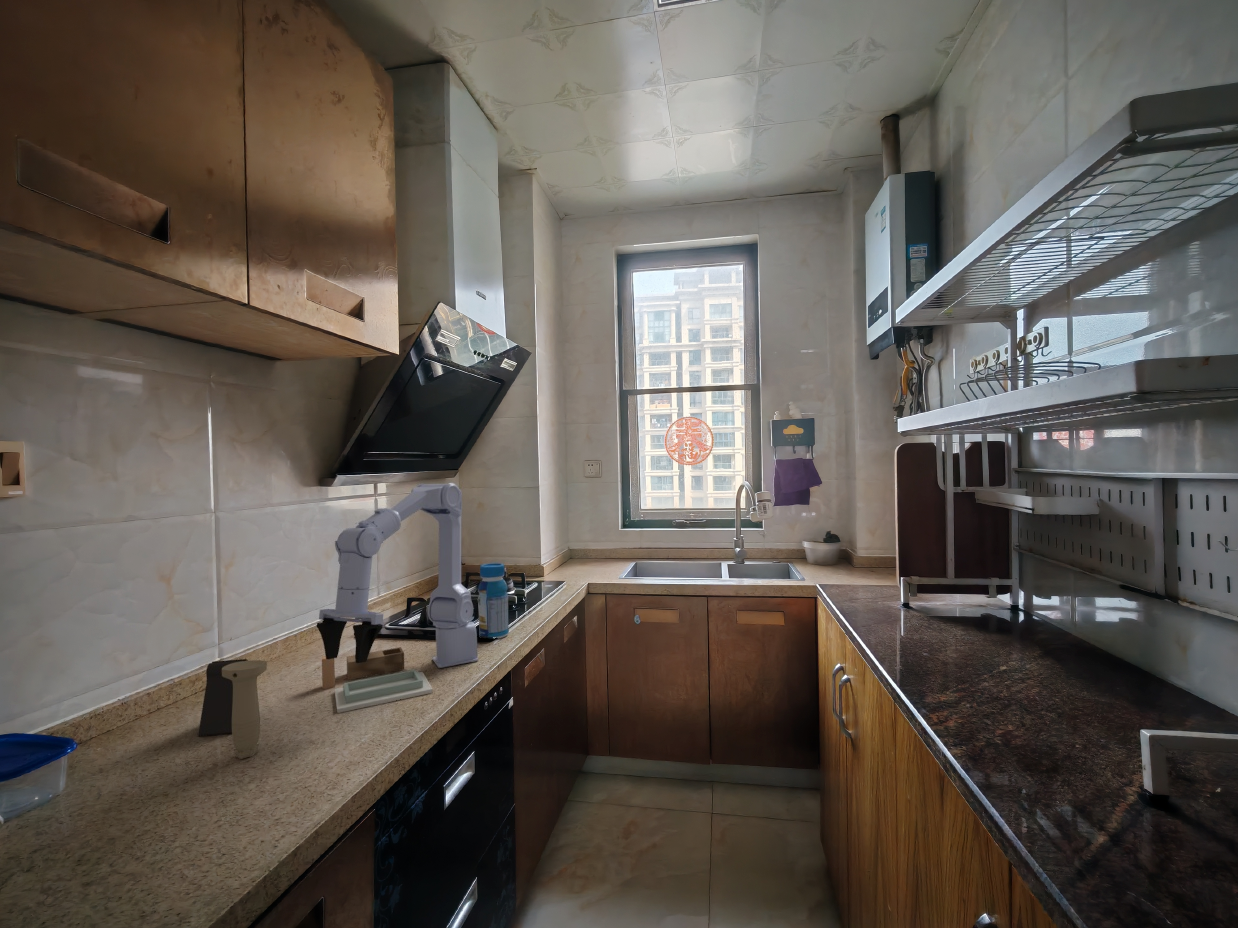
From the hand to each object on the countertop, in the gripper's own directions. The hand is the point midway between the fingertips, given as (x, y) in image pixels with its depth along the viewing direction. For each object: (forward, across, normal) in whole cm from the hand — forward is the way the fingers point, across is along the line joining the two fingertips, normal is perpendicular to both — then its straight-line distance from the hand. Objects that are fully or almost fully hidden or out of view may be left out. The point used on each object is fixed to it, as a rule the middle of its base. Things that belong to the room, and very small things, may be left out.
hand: (346, 660), depth 109 cm
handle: (+13, -4, -15) cm, 21 cm away
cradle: (+9, -2, +12) cm, 15 cm away
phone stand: (+12, -19, -8) cm, 24 cm away
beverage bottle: (+2, -2, +54) cm, 54 cm away
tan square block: (+9, -16, +12) cm, 22 cm away
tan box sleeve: (+7, -13, +22) cm, 26 cm away
